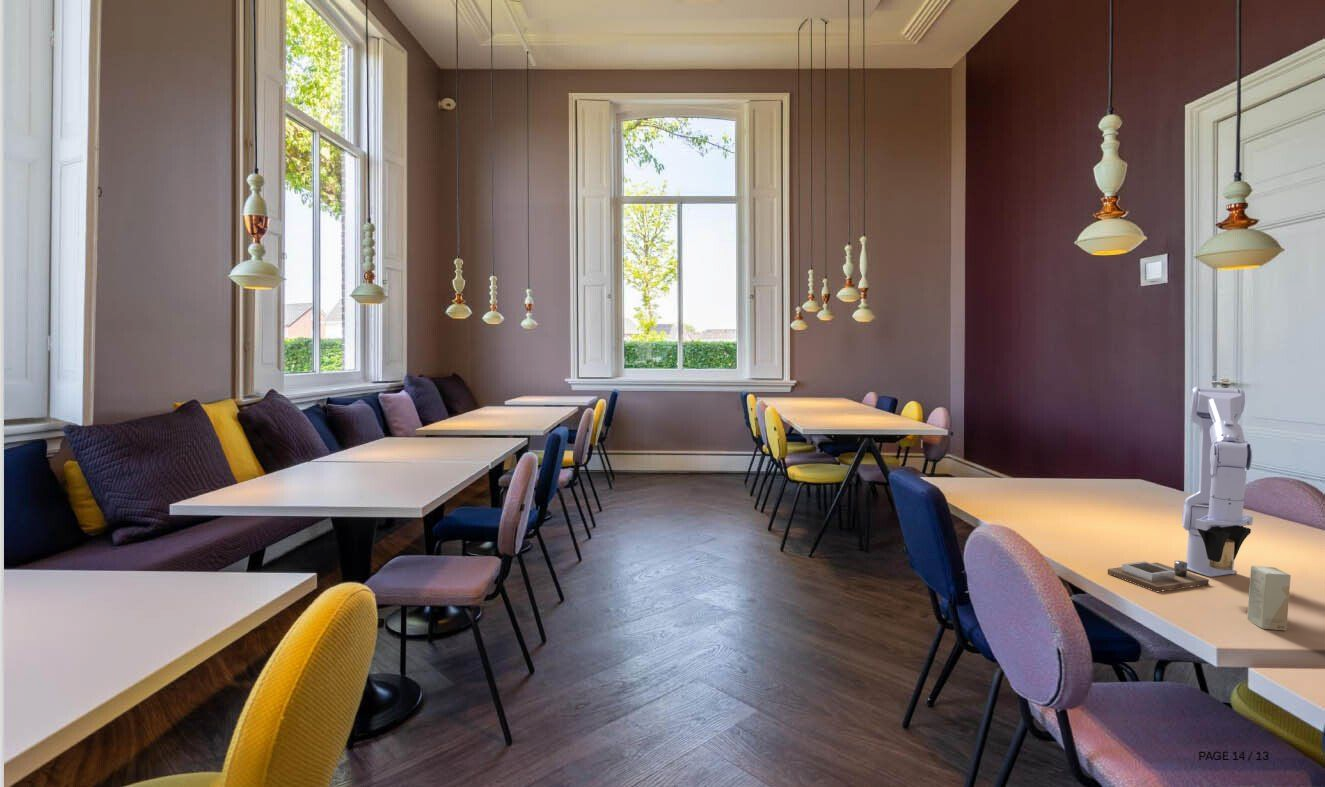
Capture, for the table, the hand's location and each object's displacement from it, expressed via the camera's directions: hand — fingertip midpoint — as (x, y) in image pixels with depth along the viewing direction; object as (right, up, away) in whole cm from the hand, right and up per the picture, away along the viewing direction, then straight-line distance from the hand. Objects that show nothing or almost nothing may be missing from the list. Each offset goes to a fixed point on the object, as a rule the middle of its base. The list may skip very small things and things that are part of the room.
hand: (1221, 559), depth 152 cm
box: (-2, -10, -13) cm, 17 cm away
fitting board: (-6, -7, +11) cm, 15 cm away
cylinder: (0, -2, 0) cm, 2 cm away
